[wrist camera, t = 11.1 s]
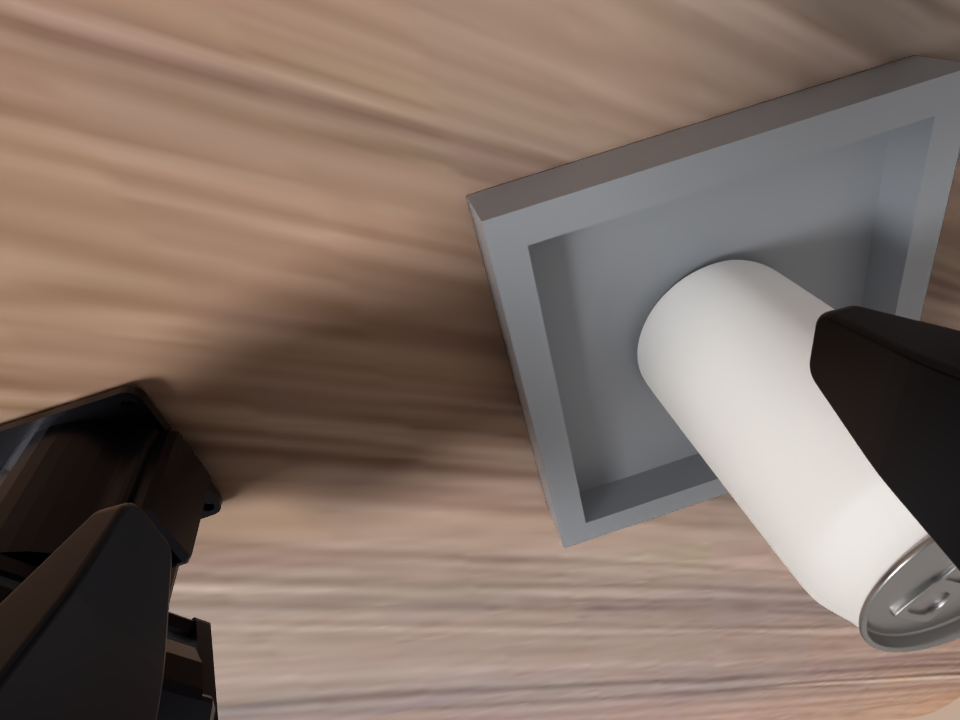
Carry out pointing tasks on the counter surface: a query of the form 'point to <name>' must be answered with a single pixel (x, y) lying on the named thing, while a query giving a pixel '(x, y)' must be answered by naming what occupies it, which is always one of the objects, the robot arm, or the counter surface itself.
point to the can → (794, 452)
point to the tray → (703, 263)
